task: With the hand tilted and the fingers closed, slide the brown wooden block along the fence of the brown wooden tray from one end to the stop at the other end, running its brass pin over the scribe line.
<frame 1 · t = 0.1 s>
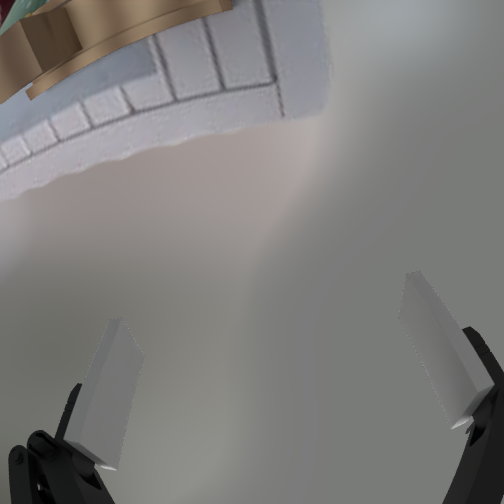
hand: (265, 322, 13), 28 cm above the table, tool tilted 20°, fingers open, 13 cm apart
brown wooden tray: (110, 8, 21), on the table
brown wooden block: (52, 41, 21), point 1 cm above the table, touching brown wooden tray
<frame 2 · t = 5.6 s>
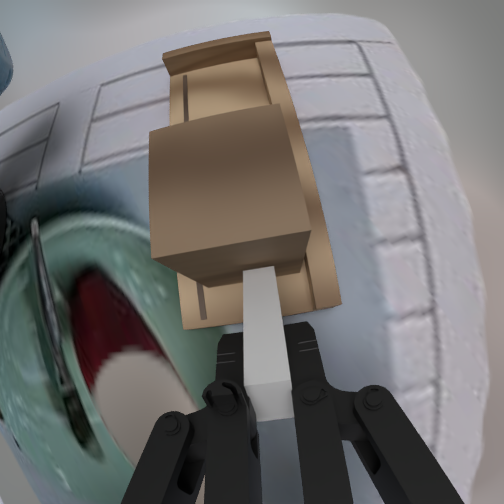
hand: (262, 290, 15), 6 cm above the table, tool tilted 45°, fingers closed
brown wooden tray: (236, 164, 23), on the table
brown wooden block: (246, 236, 20), point 1 cm above the table, touching brown wooden tray
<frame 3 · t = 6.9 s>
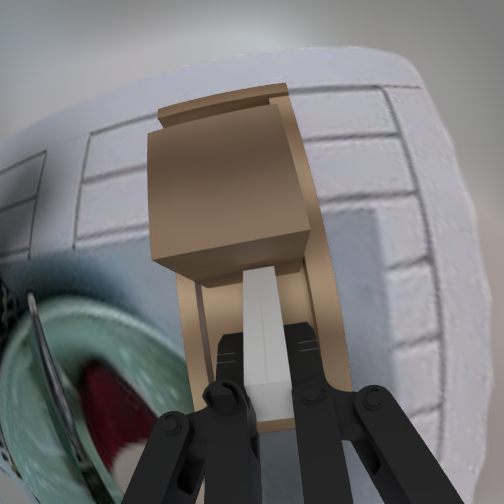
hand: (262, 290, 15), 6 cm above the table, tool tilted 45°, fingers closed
brown wooden tray: (249, 258, 22), on the table
brown wooden block: (245, 236, 20), point 2 cm above the table
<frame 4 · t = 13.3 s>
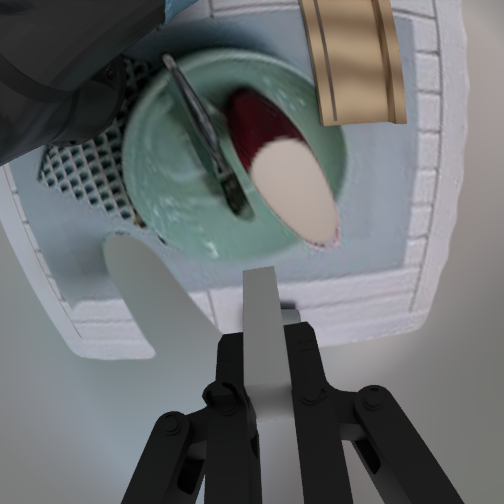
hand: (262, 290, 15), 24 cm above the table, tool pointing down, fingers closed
ceramic mug: (271, 321, 50), on the table
brown wooden tray: (346, 30, 27), on the table
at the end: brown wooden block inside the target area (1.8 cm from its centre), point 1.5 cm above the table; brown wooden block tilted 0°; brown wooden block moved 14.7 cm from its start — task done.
